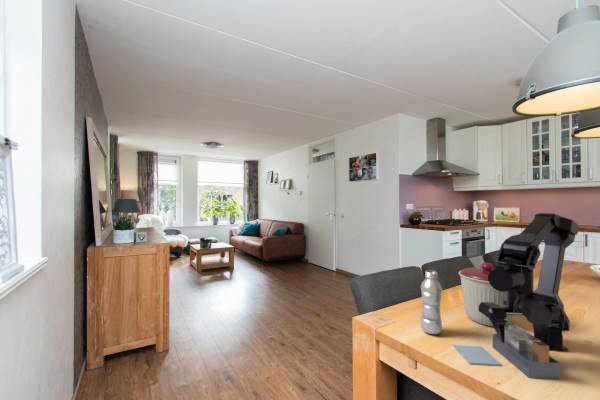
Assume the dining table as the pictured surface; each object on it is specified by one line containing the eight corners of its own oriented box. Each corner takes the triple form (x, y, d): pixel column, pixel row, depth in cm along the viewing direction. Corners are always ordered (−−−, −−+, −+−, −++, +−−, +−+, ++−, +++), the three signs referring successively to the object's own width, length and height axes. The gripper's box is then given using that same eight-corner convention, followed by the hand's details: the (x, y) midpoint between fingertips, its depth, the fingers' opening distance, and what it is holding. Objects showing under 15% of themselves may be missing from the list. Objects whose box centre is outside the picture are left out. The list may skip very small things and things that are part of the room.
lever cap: (501, 338, 78) (501, 323, 78) (521, 338, 77) (520, 324, 77) (518, 351, 71) (518, 335, 71) (540, 352, 70) (540, 336, 70)
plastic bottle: (435, 327, 93) (435, 269, 93) (446, 337, 86) (446, 274, 86) (416, 327, 93) (416, 269, 93) (426, 337, 86) (426, 274, 86)
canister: (514, 317, 101) (514, 261, 102) (524, 337, 86) (524, 271, 86) (458, 307, 111) (458, 256, 111) (458, 324, 95) (458, 264, 95)
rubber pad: (453, 346, 81) (453, 345, 81) (481, 347, 80) (481, 346, 80) (469, 364, 72) (469, 362, 72) (501, 365, 71) (501, 364, 71)
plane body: (492, 346, 80) (491, 319, 80) (517, 347, 80) (516, 320, 80) (528, 377, 66) (528, 344, 66) (559, 379, 66) (559, 346, 66)
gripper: (503, 294, 67) (503, 358, 67) (585, 297, 65) (585, 362, 65) (477, 281, 78) (477, 336, 78) (546, 283, 76) (547, 338, 76)
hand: (520, 343), depth 74 cm, fingers open, 9 cm apart
